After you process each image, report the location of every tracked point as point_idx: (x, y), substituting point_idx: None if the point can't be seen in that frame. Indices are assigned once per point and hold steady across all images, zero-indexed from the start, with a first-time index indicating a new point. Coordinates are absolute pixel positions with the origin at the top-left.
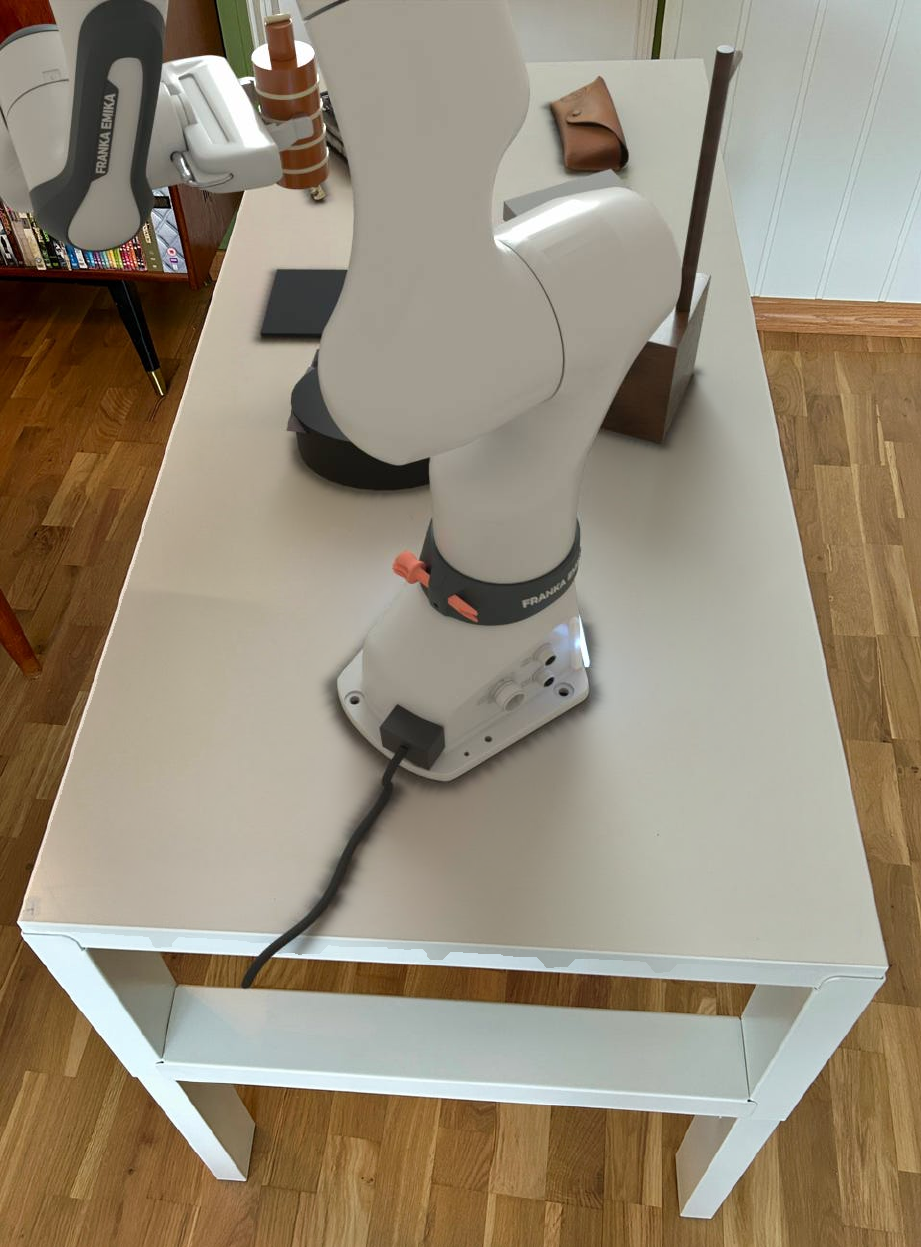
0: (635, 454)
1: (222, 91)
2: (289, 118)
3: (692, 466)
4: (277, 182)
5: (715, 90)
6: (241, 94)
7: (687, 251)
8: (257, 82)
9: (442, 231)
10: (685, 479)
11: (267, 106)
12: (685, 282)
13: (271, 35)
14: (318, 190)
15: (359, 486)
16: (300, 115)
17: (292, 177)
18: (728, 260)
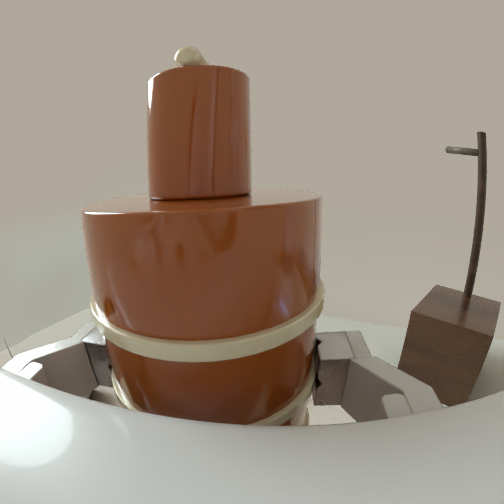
0: (488, 378)
1: (12, 449)
2: (310, 372)
3: (491, 360)
4: None
5: (486, 153)
6: (106, 418)
7: (478, 255)
8: (190, 314)
9: None
10: (499, 363)
11: (255, 387)
12: (475, 276)
13: (222, 94)
14: None
15: None
16: (335, 339)
17: None
18: (326, 316)
